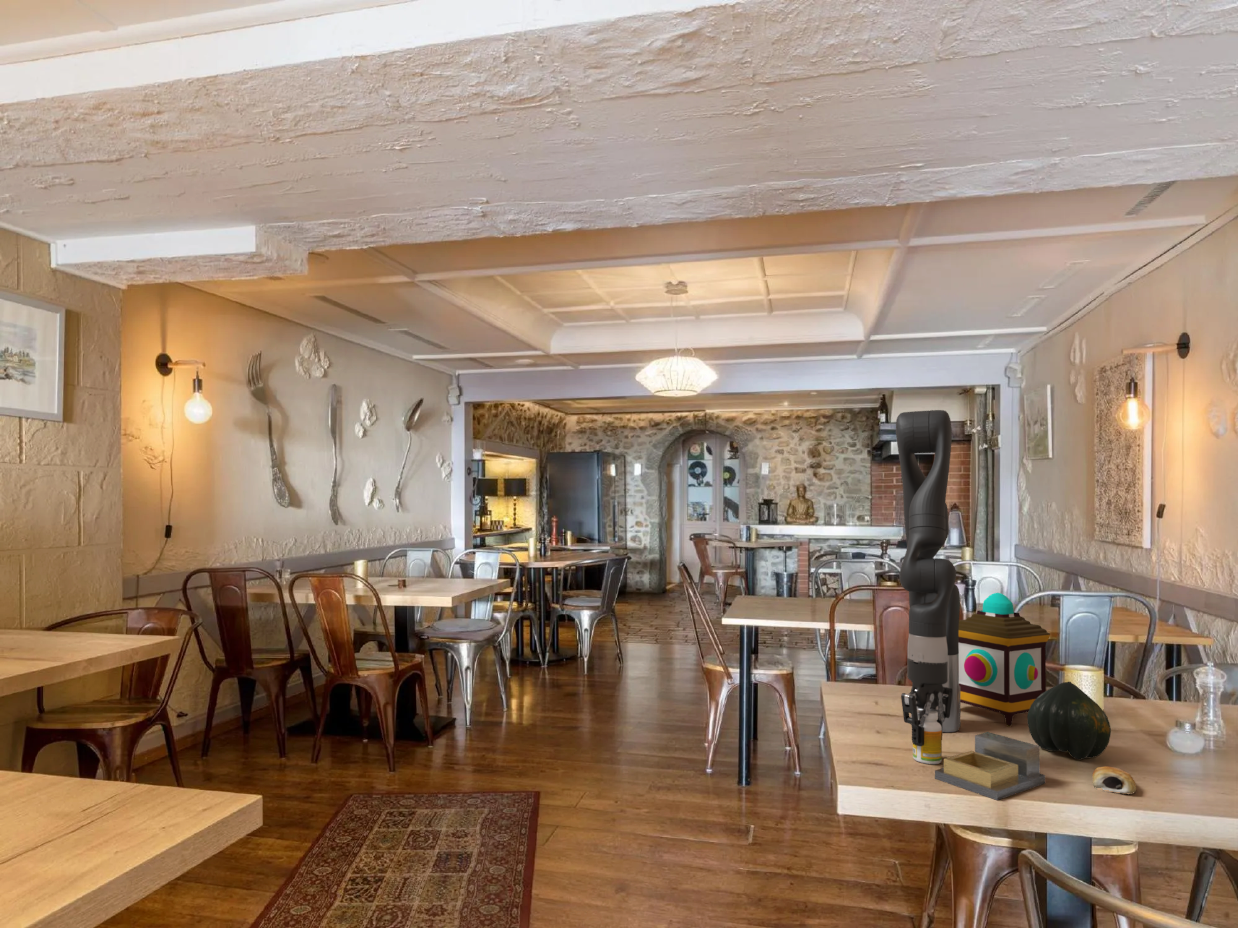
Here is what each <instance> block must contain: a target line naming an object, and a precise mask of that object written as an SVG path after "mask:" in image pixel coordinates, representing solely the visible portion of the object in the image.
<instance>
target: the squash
mask: <svg viewBox="0 0 1238 928" xmlns="http://www.w3.org/2000/svg"><path fill="white" fill-rule="evenodd" d="M1026 718H1027V727H1028V730H1029V731H1028V732H1029V734H1030V736H1031V738H1032V740H1033V741H1034V742H1035V743H1036V744H1035V745H1038V746H1039V747H1040V748H1041V749H1043V750H1045V751H1049V752H1058V751H1060V752H1062V753H1067V752H1068V754H1069V756H1071V757H1072V758H1073V759H1076V760H1082V759H1083V760H1084V759H1086V758H1088V759H1089V758H1096V757H1099V756H1100V755H1101V754H1103V752H1104V751H1105V750H1106V749H1107V747H1108V745H1109V743H1110V739H1111V732H1112V729H1111V723H1110V719H1109V717H1108V716H1107V714H1106V712H1105V711H1104V710H1103V709H1102V707H1101V706H1100V705H1099V704H1098V703H1097V702H1096V701H1094V700H1093V699H1092V698H1091V697H1090V696H1089V695H1088V694H1086V692H1084V691H1083V690H1082V689H1081V688H1080V687H1079V686H1078V685H1076V684H1074V683H1073V682H1072V681H1066V682H1061V683H1058V684H1056V685H1054V686H1052V687H1051V688H1049V689H1046V691H1045V692H1044V693H1042V694H1041V695H1040V696H1039V697H1037V698H1036V699H1035V701H1034V702H1033V703H1032V705H1031V707H1030V709H1029V712H1027V717H1026Z"/></svg>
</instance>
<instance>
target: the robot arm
mask: <svg viewBox="0 0 1238 928" xmlns="http://www.w3.org/2000/svg"><path fill="white" fill-rule="evenodd" d="M895 434H896V435H895V436H896V437H895V438H896V443H897V444H896V445H897V452H898V458H899V459H898V460H899V465H900V472H901V482H902V498H903V500H902V501H903V518H904V530H905V531H904V532H905V537H906V538H905V539H906V546H907V547H906V551H905V554H904V557H903V560H902V563H901V566H900V569H899V573H898V574H899V576H898V577H899V583H900V584H901V587H902V588H903V589H904V590H905V591H907V592H908V605H909V609H908V639H907V650H906V651H907V658H906V659H907V664H906V666H907V672H906V675H907V679H908V680H909V681H911V683H912V685H911V686H912V687H911V689H910V692H908V693H905V692H902V693H901V695H900V699H901V705H902V706H901V707H902V716H903V721H904V723H906V724H909V725H910V726H911V741H912V745H913V744H914V745H917V746H923V745H924V727H923V726H924V722H925V718H926V717H927V716H928V715H929V711H930V709H931V710H935V711H937V712H938V720H937V722H938V723H939V724H940V725H941V727H942V733H954V732H958V731H959V729H960V727H961V702H960V685H959V620H960V612H961V610H960V609H961V594H960V590H959V587H958V586H957V585H956V580H957V571H956V568H955V565H954V563H952V562H951V560H949V559H946V558H935V557H936V555H937V554H938V552H939V551H940V550H941V549H942V547H943V546H944V545H945V543H946V541H947V539H948V537H949V533H950V528H949V527H950V526H949V509H948V505H947V502H946V498H947V492H948V491H947V490H948V482H949V476H950V475H949V474H950V466H951V452H952V441H953V439H952V438H953V436H952V434H953V432H952V421H951V417H950V414H949V413H948V412H947V411H946V410H944V409H934V410H933V409H931V410H916V411H915V410H914V411H904V412H900V413H899V414H898V416H897V417H896V421H895ZM915 454H916V455H917V454H934V459H933V463H932V466H931V469H930V470H929V472H928V474H927V476H925V474H924V473H923V471H922V469H921V467H920V465H919V463H918V460H917V457H916V455H915ZM918 709H923V710H918ZM918 714H920V718H919V720H918Z"/></svg>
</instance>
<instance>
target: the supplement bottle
mask: <svg viewBox="0 0 1238 928" xmlns="http://www.w3.org/2000/svg"><path fill="white" fill-rule="evenodd" d="M918 710H923V709H918ZM919 718H920V714H918V720H919ZM937 720H938V712H937V711H935V710H931V709H930V711H929V715H928V716H927V717H926V718H925V722H924V726H923V727H924V745H923V746H917V745H914V744H913V743H912V759H914V761H916V762H918V763H922V764H926V765H938V764H941V763H942V760H943V759H942V758H943V756H942V755H943V750H942V749H943V747H942V746H943V744H942V742H943V732H942V727H941V725H940V724H939V723H938V722H937Z"/></svg>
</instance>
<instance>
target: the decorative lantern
mask: <svg viewBox="0 0 1238 928" xmlns="http://www.w3.org/2000/svg"><path fill="white" fill-rule="evenodd" d="M1050 637H1051V633H1050V632H1048V631H1047V629H1045V628H1042V626H1041V625H1040V624H1034V623H1031V622H1030V621H1029V620H1027V619H1025V617H1023V616H1020V612H1014V604H1013V601H1011V599H1010V598H1008V596H1006V595H1005V594H1003V593H1001V592H994V593H992V594H990V595H989V596H988V597H987V598H985V599H984V601H983V603H982V610H981V609H980V610H976V613H973V614H971V616H970V617H967V618H966V619H959V685H960V704H966V705H969V706H973V707H977V708H981V709H985V710H987V711H988V710H989V711H992V712H994V713H999V714H1001V715H1003V717H1004V722H1005V725H1006V727H1009V728H1010V727H1012V725H1013V721H1014V720H1013V719H1014V716H1016V715H1020V714H1021V715H1022V714H1025V713H1028V712H1029V709H1030V707H1031V705H1032V703H1033V702H1034V701H1035V699H1036V698H1037V697H1039V696H1040V695H1041V694H1042V693H1044V692H1045V691H1047V687H1046V686H1047V685H1046V684H1047V682H1046V681H1047V673H1046V672H1047V670H1046V667H1047V665H1046V664H1047V663H1046V655H1047V654H1046V653H1047V652H1046V650H1047V649H1046V645H1047V642H1048V640H1049V639H1050Z"/></svg>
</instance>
